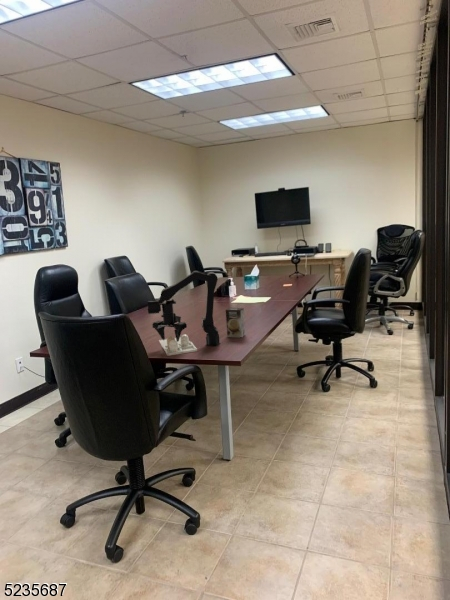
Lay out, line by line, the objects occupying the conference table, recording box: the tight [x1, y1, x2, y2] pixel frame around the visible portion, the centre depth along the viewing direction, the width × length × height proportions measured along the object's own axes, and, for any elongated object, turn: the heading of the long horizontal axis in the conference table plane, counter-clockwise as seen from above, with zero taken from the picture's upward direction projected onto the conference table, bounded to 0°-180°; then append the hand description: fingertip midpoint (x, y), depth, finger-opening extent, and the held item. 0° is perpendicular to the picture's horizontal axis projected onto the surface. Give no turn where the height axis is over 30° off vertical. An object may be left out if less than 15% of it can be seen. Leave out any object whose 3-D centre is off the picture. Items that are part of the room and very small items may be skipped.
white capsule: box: [169, 340, 178, 353], centre depth 233 cm, size 4×4×7 cm
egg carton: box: [158, 336, 198, 357], centre depth 245 cm, size 32×16×2 cm, turn 16°
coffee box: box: [225, 307, 246, 338], centre depth 256 cm, size 9×6×16 cm
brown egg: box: [166, 336, 176, 349], centre depth 240 cm, size 4×4×7 cm
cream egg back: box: [180, 334, 190, 347], centre depth 242 cm, size 4×4×7 cm
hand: (170, 340), depth 239 cm, fingers open, 9 cm apart
